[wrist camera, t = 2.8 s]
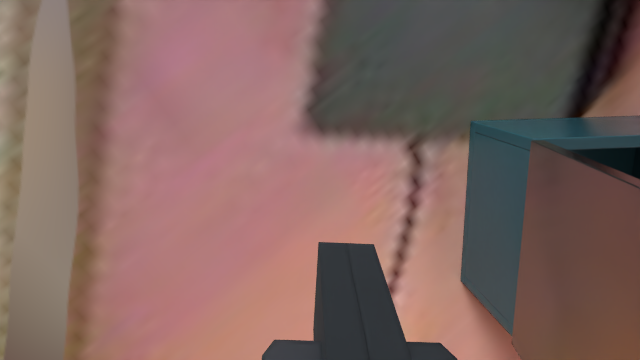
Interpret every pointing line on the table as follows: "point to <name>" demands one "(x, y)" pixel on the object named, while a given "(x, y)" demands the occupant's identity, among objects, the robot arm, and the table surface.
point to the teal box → (524, 192)
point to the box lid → (578, 260)
